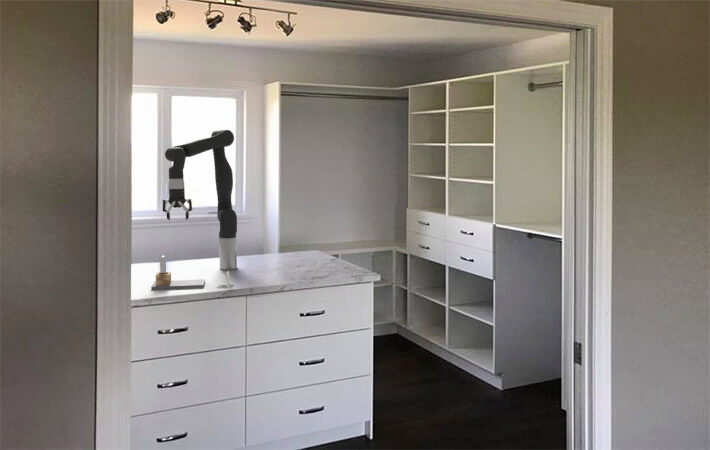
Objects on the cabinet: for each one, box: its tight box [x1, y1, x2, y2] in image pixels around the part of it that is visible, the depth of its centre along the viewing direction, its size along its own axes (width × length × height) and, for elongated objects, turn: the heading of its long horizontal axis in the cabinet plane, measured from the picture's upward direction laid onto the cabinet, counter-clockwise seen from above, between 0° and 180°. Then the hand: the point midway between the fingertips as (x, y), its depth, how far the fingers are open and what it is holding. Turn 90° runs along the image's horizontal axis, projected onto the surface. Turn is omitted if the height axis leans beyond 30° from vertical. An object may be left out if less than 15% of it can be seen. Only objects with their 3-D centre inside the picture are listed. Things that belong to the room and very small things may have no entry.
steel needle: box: [159, 255, 167, 275], centre depth 304 cm, size 3×3×13 cm
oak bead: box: [155, 271, 172, 285], centre depth 304 cm, size 6×6×5 cm
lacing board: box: [150, 278, 206, 291], centre depth 306 cm, size 24×12×2 cm, turn 100°
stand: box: [216, 270, 235, 289], centre depth 305 cm, size 8×5×8 cm
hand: (177, 219), depth 319 cm, fingers open, 8 cm apart
